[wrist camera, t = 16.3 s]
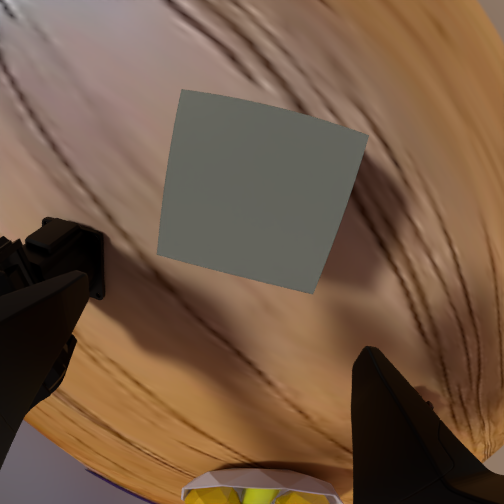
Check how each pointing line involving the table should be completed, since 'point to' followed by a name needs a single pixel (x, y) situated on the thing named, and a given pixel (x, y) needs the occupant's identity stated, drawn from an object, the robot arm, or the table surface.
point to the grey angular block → (256, 189)
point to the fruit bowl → (258, 488)
